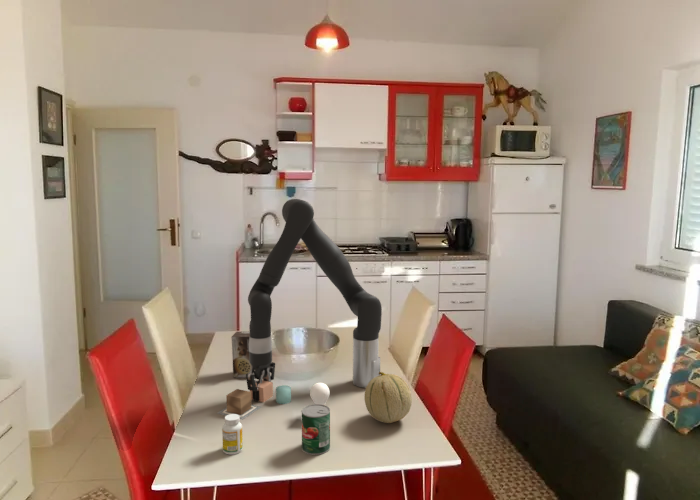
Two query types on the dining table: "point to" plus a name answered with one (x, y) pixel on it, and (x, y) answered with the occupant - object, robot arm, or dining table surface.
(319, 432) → the canned tomato
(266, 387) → the terracotta block
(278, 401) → the mint green capsule
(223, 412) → the mat
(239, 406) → the walnut block
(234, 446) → the supplement bottle
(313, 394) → the lightbulb
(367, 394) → the cantaloupe
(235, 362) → the coffee box
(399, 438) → the dining table surface
